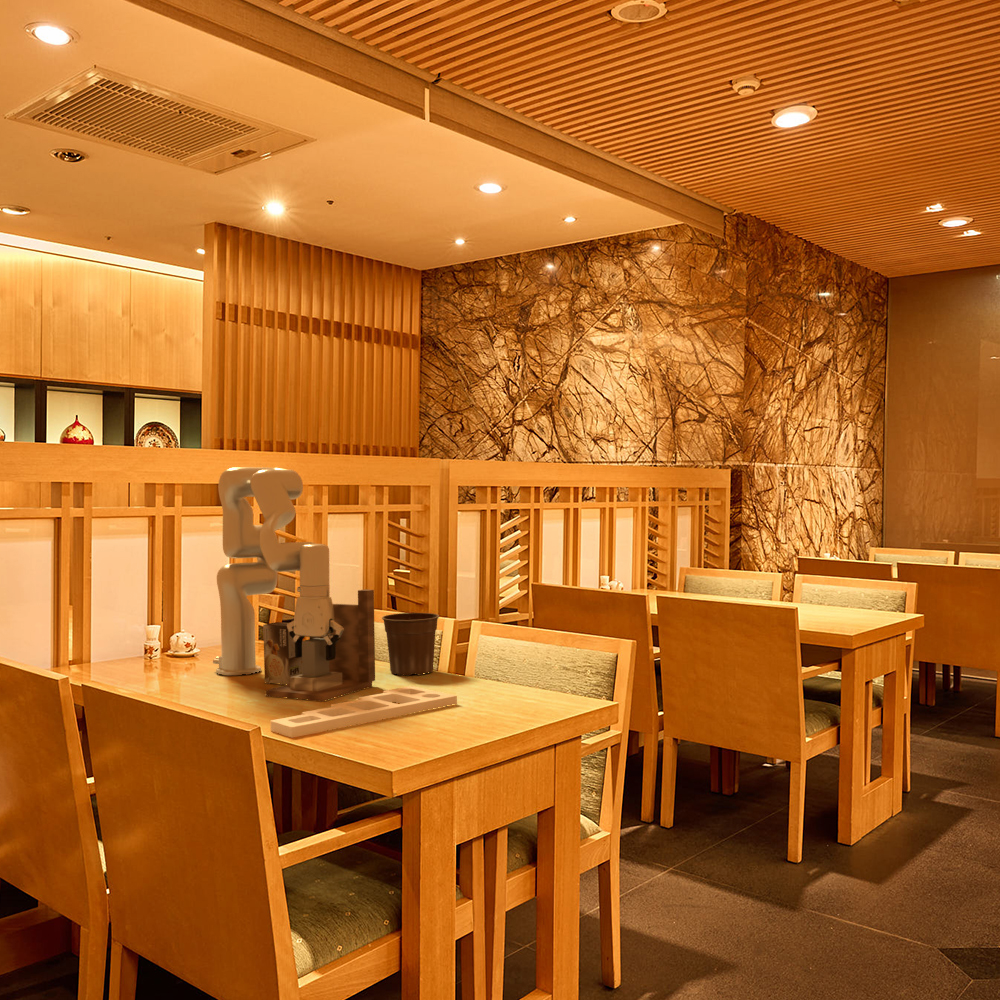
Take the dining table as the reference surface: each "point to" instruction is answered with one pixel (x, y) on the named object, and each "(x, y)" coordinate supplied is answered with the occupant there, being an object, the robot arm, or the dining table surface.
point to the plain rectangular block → (314, 658)
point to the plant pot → (411, 642)
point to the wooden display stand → (342, 656)
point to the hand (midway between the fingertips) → (315, 658)
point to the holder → (363, 711)
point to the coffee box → (279, 654)
